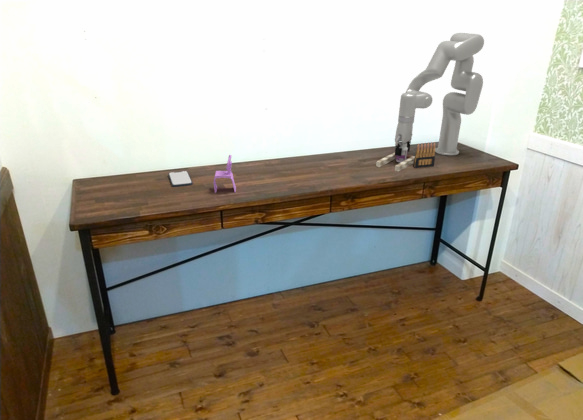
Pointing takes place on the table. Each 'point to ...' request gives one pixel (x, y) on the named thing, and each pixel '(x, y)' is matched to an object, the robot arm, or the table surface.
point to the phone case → (180, 179)
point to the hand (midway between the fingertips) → (402, 153)
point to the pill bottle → (402, 154)
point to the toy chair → (225, 174)
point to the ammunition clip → (424, 156)
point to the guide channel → (392, 156)
